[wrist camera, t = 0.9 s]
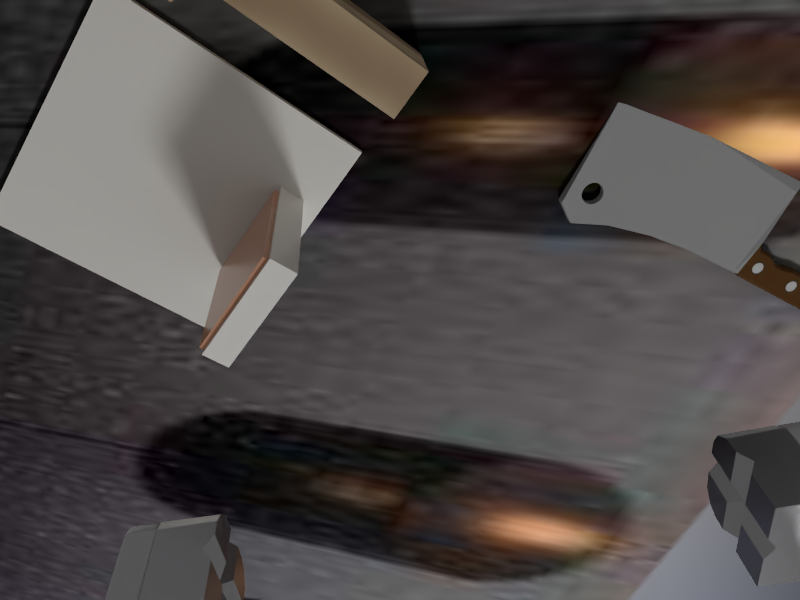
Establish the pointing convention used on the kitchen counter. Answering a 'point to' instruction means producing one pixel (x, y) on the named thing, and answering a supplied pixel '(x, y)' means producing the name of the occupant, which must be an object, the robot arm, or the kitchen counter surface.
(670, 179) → the kitchen cleaver
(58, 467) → the kitchen counter surface
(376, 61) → the wooden mallet
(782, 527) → the robot arm
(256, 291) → the tile
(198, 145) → the mat
